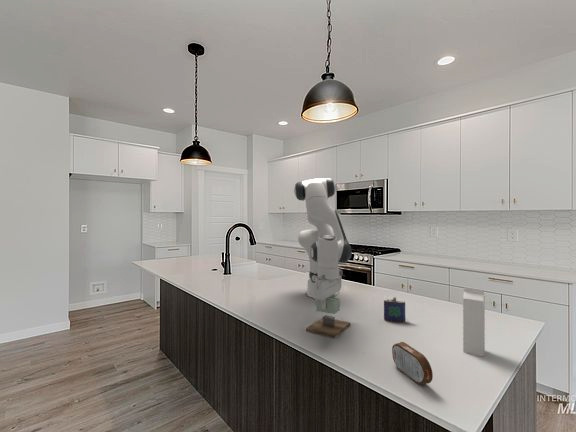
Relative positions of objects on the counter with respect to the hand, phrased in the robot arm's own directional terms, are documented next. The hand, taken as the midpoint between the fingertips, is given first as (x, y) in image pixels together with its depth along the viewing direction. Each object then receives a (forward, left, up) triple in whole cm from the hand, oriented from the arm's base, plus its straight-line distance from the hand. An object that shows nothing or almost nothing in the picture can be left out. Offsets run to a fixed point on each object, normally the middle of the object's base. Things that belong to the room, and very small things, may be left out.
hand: (328, 306), depth 126 cm
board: (0, 0, -9) cm, 9 cm away
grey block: (0, 0, -9) cm, 9 cm away
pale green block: (0, 0, -2) cm, 2 cm away
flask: (-24, +21, -10) cm, 34 cm away
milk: (-9, +52, -10) cm, 54 cm away
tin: (+20, +37, -10) cm, 43 cm away
